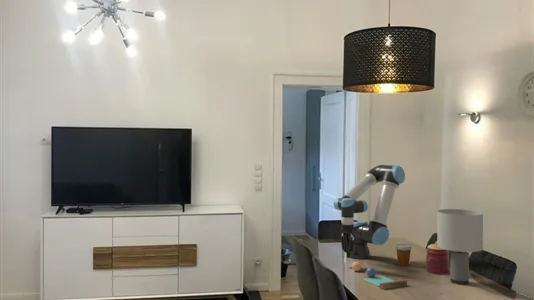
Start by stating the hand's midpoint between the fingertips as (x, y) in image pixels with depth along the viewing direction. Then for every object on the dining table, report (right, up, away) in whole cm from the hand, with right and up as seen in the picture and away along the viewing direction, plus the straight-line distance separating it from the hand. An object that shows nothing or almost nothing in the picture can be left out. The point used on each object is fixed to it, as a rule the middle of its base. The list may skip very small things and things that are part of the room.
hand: (347, 262), depth 277 cm
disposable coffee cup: (+36, -3, +6) cm, 37 cm away
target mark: (+13, -3, -29) cm, 32 cm away
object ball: (+10, 0, -21) cm, 23 cm away
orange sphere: (+4, 0, -9) cm, 9 cm away
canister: (+52, -3, -9) cm, 52 cm away
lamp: (+56, -3, -30) cm, 63 cm away
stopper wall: (+18, -3, -39) cm, 42 cm away
